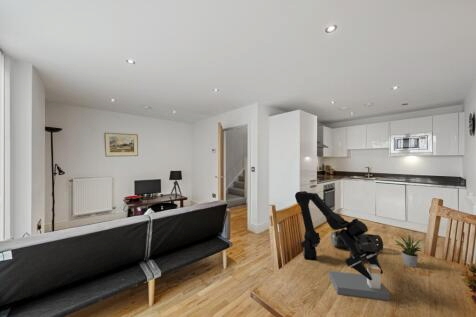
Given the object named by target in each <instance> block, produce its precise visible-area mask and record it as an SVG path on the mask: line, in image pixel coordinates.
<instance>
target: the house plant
mask: <svg viewBox="0 0 476 317" xmlns="http://www.w3.org/2000/svg"><path fill="white" fill-rule="evenodd" d="M397 236H399V237H400V239H401V240H402V243H401V242H400V241H398V240H397V239H394V238H392V240H393V241H395V242H396V243H395V244H394V246H400V247H401V248H402V249H403V250H401V257H402V261H403V262H402V263H403V264H404V265H406V266H407V267H410V268H417V264H418V259H419V255H418V253H416V252H420V253H422V248H421V247H418V246H420V244H421V242H423V241H425V239H419V238H416V239H415V240H414V238H411V235H410V234H408V238H406V237H405V236H403V235H399V234H397ZM414 243H415V244H414Z"/></svg>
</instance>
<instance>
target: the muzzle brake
mask: <svg viewBox="0 0 476 317" xmlns="http://www.w3.org/2000/svg"><path fill="white" fill-rule="evenodd" d="M336 231H337V230H334V231H332V232H331V233H330V240H331V245H332V246H335V247H337V248H343V249H346V247H347V246H346V244H345V243H344V241H343V240H342V239H341V237H340V236H338V237H336ZM355 238H356V239H357V240H360V241H361V242H362V243H365V242H367V240H368V239H372V240H373V241H374V242H375V243H376V244H377V245H376V248H377V250H378V251H379V252H380V251H383V248H384V242H383V238H382V237H381V236H380V235H379V234H370V233H369V234H367V233H364V234H362V235H361V236H359V237H355Z"/></svg>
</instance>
